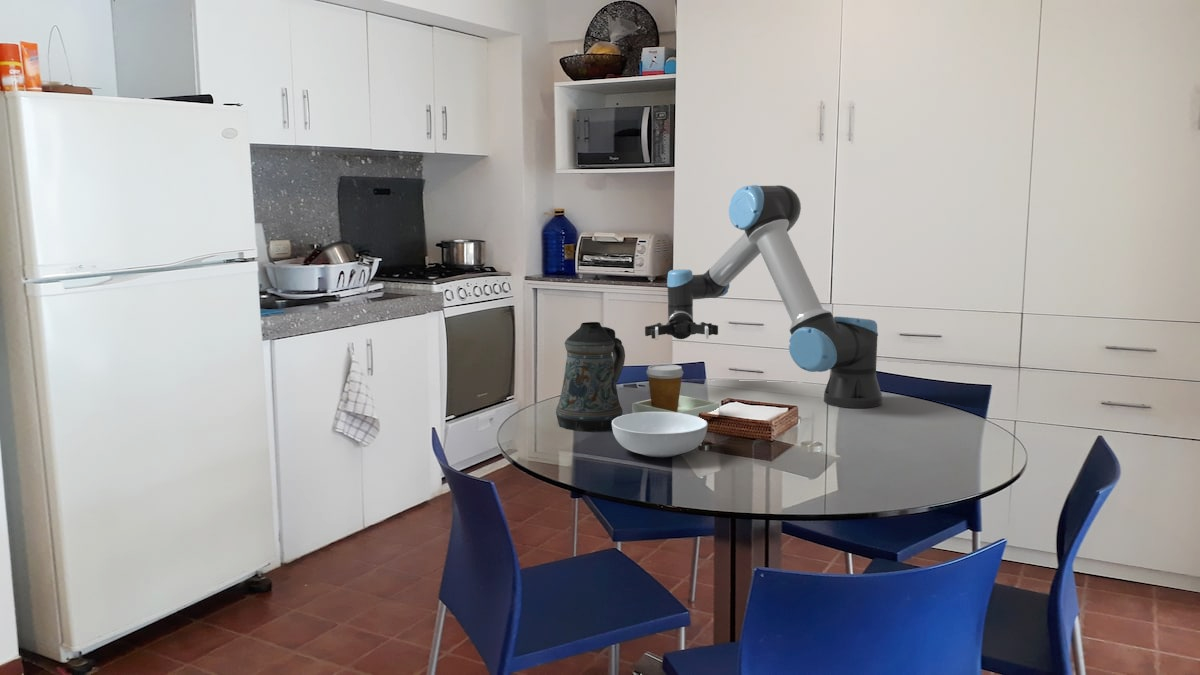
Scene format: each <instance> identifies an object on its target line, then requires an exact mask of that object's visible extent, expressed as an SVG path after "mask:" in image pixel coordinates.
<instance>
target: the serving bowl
mask: <svg viewBox="0 0 1200 675" xmlns="http://www.w3.org/2000/svg"><path fill="white" fill-rule="evenodd" d="M708 425H709V423H708V421H707V420H704V419H702V418H700V417H697V416H693V415H688V414H683V413H674V412H639V413H627V414H622V416H619V417H617V418H615V419H614V420H613V421H612V428H611V429H612V433H613V436H614V437H615V440H616V441H617V443H618V444H620V446H622V447H623V448H624V449H625V450H628V451H630V452H632V453H636V454H640V455H643V456H645V457H652V458H669V457H675V456H677V455H681V454H685V453H688V452H691V451H693V450H695V449H696V448H697V447H699V446H700V445H701V443H702V442H703V441H704V440H705V437H706V436H707V431H708V427H709V426H708Z"/></svg>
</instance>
